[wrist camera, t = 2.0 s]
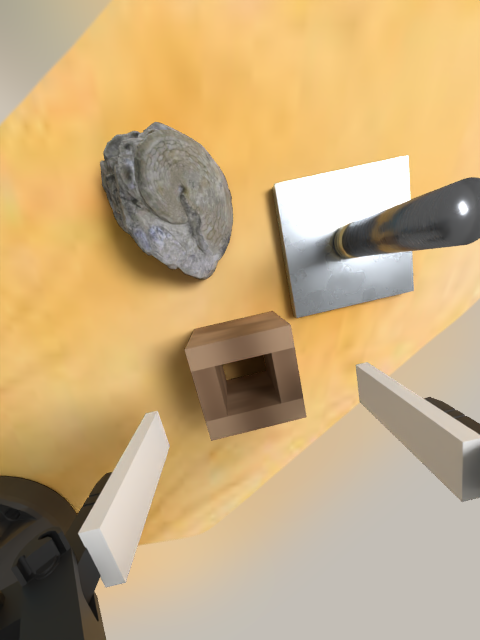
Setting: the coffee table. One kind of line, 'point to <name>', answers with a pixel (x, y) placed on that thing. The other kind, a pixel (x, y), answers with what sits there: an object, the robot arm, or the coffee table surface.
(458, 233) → the knob on metal plate
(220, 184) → the fossilized seashell
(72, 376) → the coffee table surface
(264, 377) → the collar
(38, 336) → the coffee table surface
